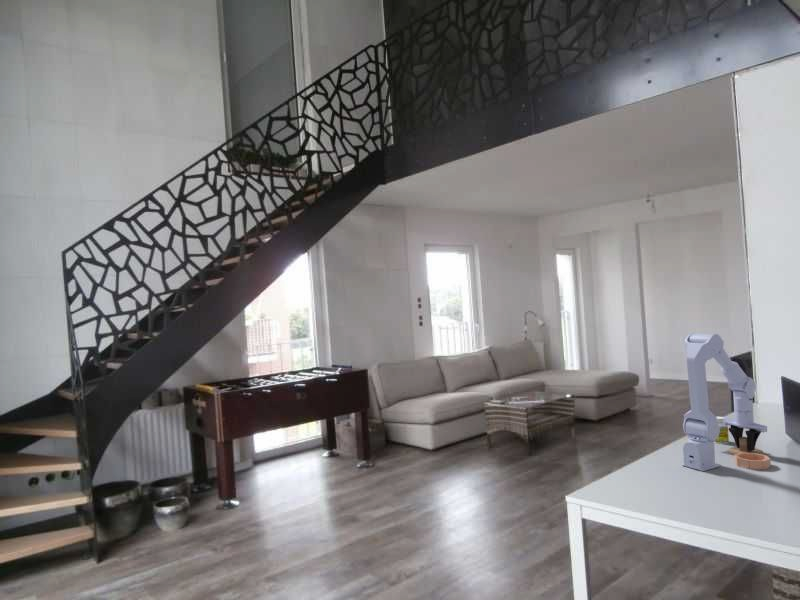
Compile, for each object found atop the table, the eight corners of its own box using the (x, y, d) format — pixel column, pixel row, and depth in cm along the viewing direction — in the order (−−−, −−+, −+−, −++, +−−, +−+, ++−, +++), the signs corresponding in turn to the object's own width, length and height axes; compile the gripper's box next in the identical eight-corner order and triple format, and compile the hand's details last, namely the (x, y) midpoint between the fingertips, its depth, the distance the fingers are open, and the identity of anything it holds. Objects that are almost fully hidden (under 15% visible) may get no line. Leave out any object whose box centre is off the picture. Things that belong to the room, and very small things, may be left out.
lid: (751, 459, 190) (750, 443, 190) (721, 452, 199) (720, 437, 199) (770, 454, 194) (769, 438, 194) (740, 447, 204) (739, 432, 204)
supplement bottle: (722, 440, 216) (720, 415, 216) (732, 443, 210) (730, 418, 210) (709, 441, 215) (708, 416, 215) (719, 445, 210) (717, 419, 210)
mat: (751, 460, 190) (751, 459, 190) (720, 453, 199) (720, 452, 199) (771, 454, 194) (771, 454, 194) (740, 448, 204) (740, 447, 204)
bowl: (758, 472, 178) (757, 462, 178) (728, 464, 186) (728, 455, 186) (776, 466, 182) (775, 457, 182) (746, 459, 190) (746, 451, 190)
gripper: (771, 412, 192) (773, 451, 192) (730, 405, 205) (732, 442, 205) (759, 414, 189) (761, 455, 189) (718, 408, 202) (720, 445, 202)
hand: (745, 448), depth 197 cm, fingers open, 4 cm apart
